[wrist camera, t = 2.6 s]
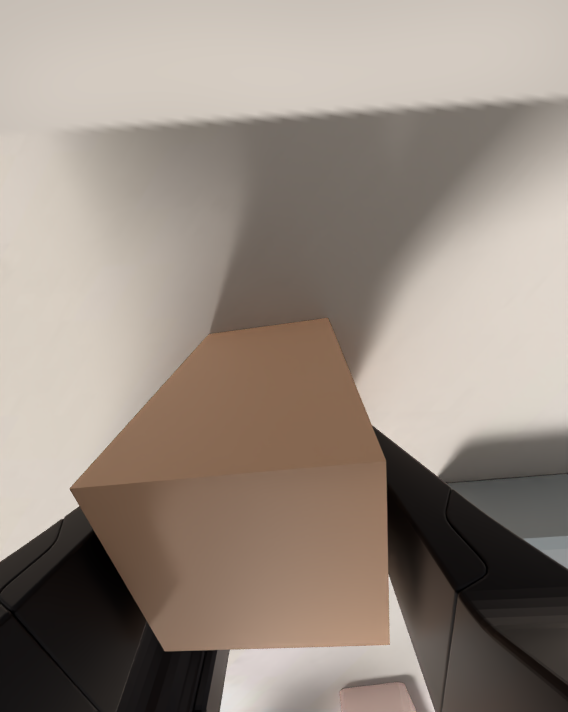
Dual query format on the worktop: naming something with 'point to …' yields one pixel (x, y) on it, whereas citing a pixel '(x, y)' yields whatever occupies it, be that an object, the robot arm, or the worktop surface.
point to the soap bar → (377, 698)
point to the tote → (526, 509)
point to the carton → (250, 498)
